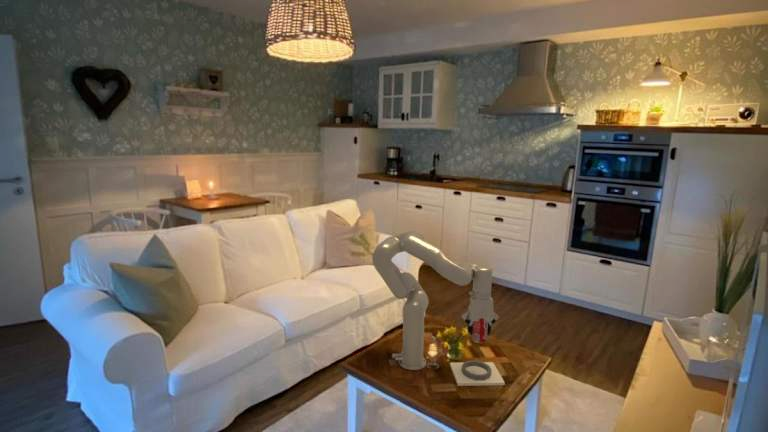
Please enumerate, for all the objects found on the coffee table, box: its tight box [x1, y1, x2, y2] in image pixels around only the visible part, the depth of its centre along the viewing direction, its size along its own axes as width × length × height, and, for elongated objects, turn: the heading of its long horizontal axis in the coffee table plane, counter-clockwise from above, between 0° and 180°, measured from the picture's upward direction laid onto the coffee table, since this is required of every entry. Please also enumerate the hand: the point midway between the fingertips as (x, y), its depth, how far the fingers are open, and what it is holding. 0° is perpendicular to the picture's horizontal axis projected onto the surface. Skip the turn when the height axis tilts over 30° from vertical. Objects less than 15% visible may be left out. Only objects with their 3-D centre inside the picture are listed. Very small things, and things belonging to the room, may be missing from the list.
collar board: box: [449, 359, 505, 387], centre depth 178 cm, size 20×16×3 cm
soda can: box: [470, 317, 488, 344], centre depth 174 cm, size 7×7×12 cm
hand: (479, 333), depth 175 cm, fingers closed on soda can, 6 cm apart
